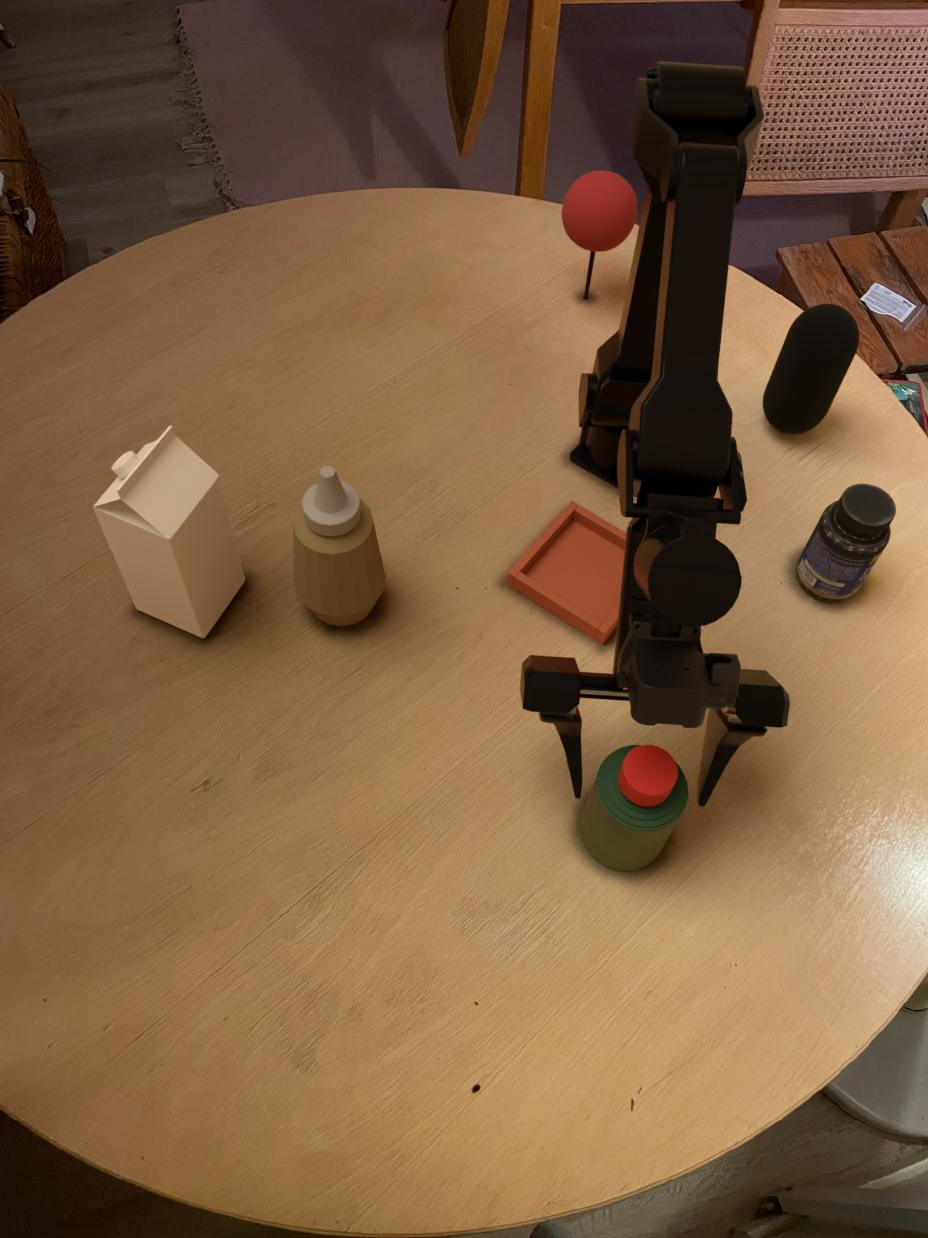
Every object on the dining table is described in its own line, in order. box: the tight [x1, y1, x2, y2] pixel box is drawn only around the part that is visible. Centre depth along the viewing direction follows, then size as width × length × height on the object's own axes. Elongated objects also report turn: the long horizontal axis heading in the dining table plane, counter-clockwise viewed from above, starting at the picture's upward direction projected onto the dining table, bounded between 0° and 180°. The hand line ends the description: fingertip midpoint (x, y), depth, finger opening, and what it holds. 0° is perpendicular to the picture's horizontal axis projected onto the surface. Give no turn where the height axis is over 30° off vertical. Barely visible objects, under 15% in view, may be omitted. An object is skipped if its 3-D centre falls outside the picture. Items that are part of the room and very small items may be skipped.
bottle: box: [579, 744, 690, 872], centre depth 79 cm, size 7×7×12 cm
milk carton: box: [92, 425, 246, 639], centre depth 86 cm, size 7×7×19 cm
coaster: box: [506, 500, 627, 645], centre depth 96 cm, size 11×11×2 cm
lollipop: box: [561, 170, 639, 301], centre depth 111 cm, size 8×8×15 cm
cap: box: [618, 744, 678, 807], centre depth 74 cm, size 4×4×2 cm
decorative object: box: [762, 303, 860, 435], centre depth 101 cm, size 7×7×15 cm
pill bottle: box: [795, 483, 897, 603], centre depth 93 cm, size 6×6×11 cm
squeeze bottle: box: [292, 465, 387, 627], centre depth 87 cm, size 8×8×18 cm
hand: (638, 801), depth 77 cm, fingers open, 9 cm apart
